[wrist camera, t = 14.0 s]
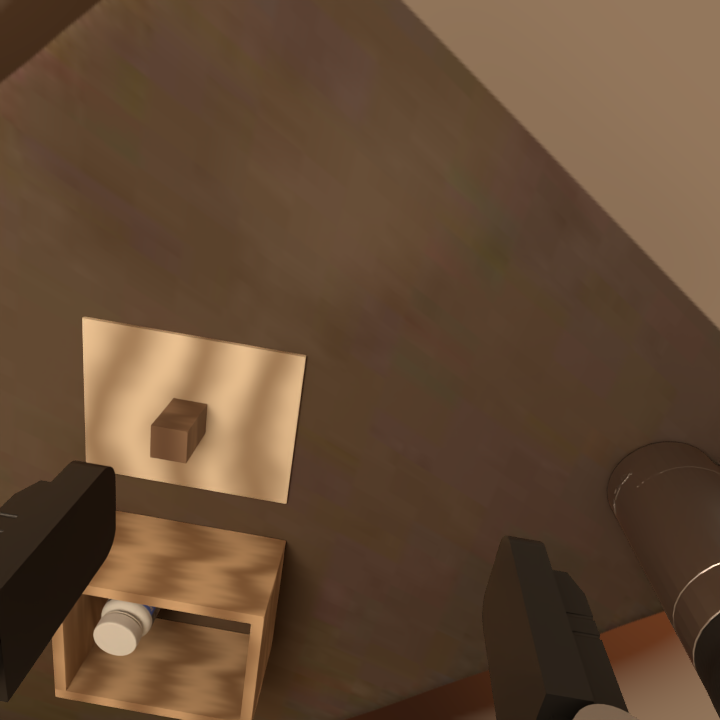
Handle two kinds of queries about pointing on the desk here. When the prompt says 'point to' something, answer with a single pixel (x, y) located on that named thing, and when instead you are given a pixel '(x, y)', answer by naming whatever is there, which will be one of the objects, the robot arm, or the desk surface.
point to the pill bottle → (123, 626)
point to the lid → (191, 409)
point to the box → (175, 639)
